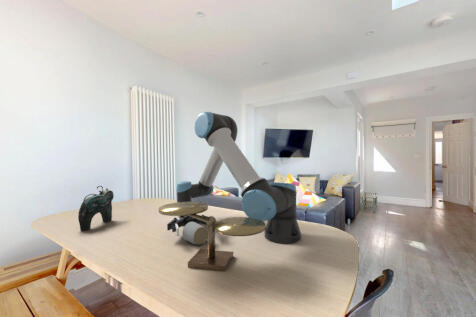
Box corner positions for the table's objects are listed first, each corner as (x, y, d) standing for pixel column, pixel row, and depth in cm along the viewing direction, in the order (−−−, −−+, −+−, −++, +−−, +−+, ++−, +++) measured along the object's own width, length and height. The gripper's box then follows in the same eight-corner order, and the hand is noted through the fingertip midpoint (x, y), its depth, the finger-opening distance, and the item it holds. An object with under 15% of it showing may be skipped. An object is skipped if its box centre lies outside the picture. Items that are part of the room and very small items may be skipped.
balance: (268, 255, 75) (267, 204, 75) (262, 281, 59) (262, 216, 59) (174, 247, 83) (174, 201, 83) (148, 268, 67) (147, 211, 67)
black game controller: (106, 219, 122) (106, 183, 122) (117, 219, 121) (116, 183, 121) (75, 231, 103) (75, 188, 103) (88, 231, 102) (87, 189, 102)
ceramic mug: (194, 248, 82) (194, 227, 82) (182, 242, 87) (182, 223, 87) (215, 240, 89) (215, 221, 90) (203, 236, 95) (203, 218, 95)
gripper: (212, 221, 109) (226, 234, 90) (159, 227, 100) (162, 244, 80) (212, 206, 109) (226, 216, 90) (159, 211, 100) (162, 223, 80)
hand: (196, 229), depth 85 cm, fingers open, 13 cm apart
